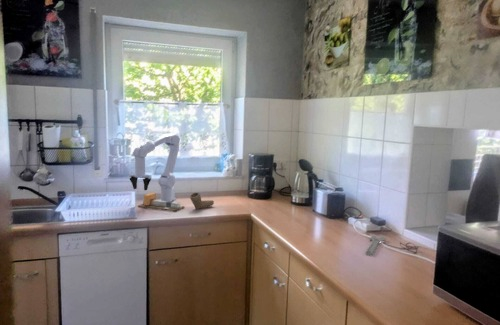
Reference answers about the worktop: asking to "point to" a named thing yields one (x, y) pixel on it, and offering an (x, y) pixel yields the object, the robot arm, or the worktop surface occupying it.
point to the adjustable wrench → (373, 245)
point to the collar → (149, 198)
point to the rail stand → (163, 205)
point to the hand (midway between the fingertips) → (140, 189)
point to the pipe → (198, 203)
